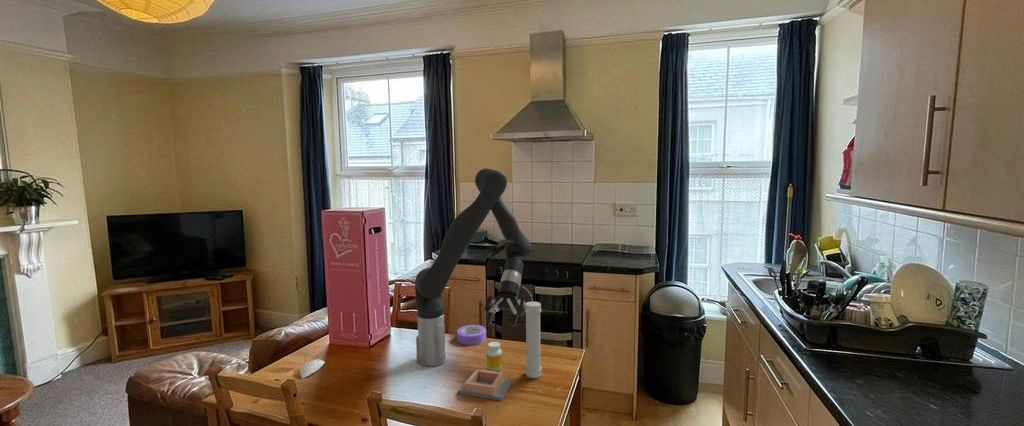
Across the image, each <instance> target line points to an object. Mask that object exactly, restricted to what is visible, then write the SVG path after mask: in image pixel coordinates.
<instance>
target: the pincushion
mask: <svg viewBox="0 0 1024 426" xmlns="http://www.w3.org/2000/svg"><path fill="white" fill-rule="evenodd" d="M306 359H307V358H306V356H305V358H304V360H306ZM325 363H326V362H325V361H324V360H322V359H320V358H319V354H317V359H316V358H314V359H312V360H309V361H307V362H305V363H304V364H303V365H302V366H301V368H300V371H299V376H300V377H301V379H305V378H307V377H308V376H310V375H311V374H314V372H317V370H319V369H320V368H321V367H322V366H323V365H324V364H325Z"/></svg>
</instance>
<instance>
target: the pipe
mask: <svg viewBox="0 0 1024 426" xmlns="http://www.w3.org/2000/svg"><path fill="white" fill-rule="evenodd" d="M521 287H522V288H523V289H525V290H526V291H527V293H529V296H530V297H531V301H527V302H525V308H524V314H525V335H526V336H525V338H526V339H525V345H526V346H525V349H526V350H525V354H526V355H525V357H526V358H525V359H526V365H525V367H524V368H525V376H526V377H527V378H530V379H538V378H541V376H542V369H543V367H542V365H541V361H542V360H541V313H542V304H541V302H539V301H534V300H533V296H532V294H531V293H530V291H529V290H528V289H527V288H526V287H525V286H523V285H522V286H521Z"/></svg>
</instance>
